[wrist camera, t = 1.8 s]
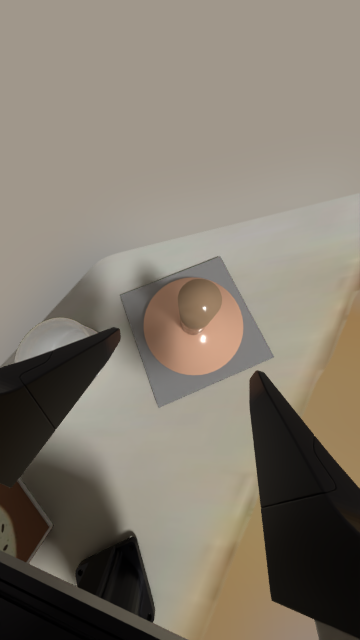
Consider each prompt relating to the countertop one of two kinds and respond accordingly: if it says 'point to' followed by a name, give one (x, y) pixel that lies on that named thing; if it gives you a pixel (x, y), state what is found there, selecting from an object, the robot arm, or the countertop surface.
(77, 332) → the ramekin
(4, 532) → the food container
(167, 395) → the mat
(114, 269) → the countertop surface
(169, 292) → the lid
